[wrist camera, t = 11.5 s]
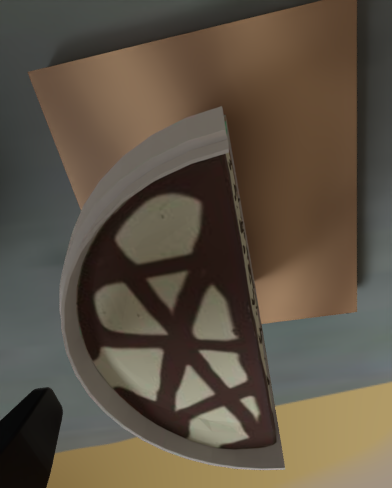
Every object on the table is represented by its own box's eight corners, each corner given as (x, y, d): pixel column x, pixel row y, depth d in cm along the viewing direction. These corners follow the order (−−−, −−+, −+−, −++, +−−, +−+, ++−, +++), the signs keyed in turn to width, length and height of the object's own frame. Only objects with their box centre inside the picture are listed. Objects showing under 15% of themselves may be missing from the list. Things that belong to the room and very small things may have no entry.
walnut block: (137, 319, 25) (131, 340, 24) (45, 69, 18) (27, 71, 16) (346, 291, 23) (356, 311, 22) (341, -3, 16) (356, -8, 14)
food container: (87, 109, 17) (-53, 181, 8) (219, 78, 16) (224, 121, 7) (157, 315, 22) (121, 490, 14) (258, 301, 22) (286, 478, 13)
